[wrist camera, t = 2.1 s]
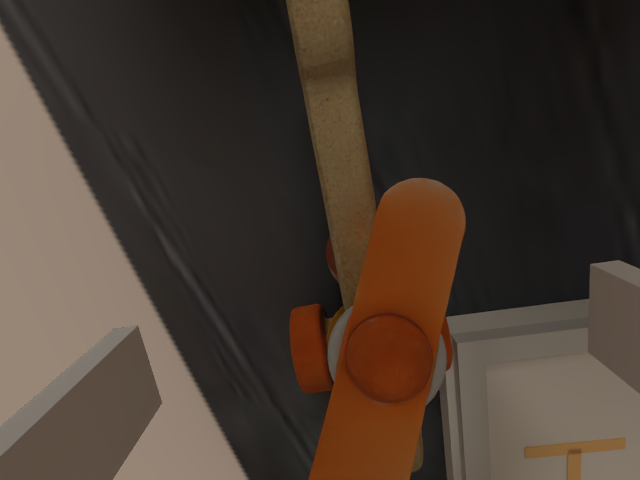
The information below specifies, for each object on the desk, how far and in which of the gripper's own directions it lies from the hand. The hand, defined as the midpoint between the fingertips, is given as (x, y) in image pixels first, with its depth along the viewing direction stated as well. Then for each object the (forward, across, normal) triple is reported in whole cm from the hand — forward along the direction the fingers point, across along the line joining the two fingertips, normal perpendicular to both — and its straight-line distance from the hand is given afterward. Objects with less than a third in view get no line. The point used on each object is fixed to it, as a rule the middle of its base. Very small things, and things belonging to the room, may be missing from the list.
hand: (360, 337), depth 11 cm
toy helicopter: (+12, 0, +1) cm, 12 cm away
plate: (+12, +12, -17) cm, 24 cm away
